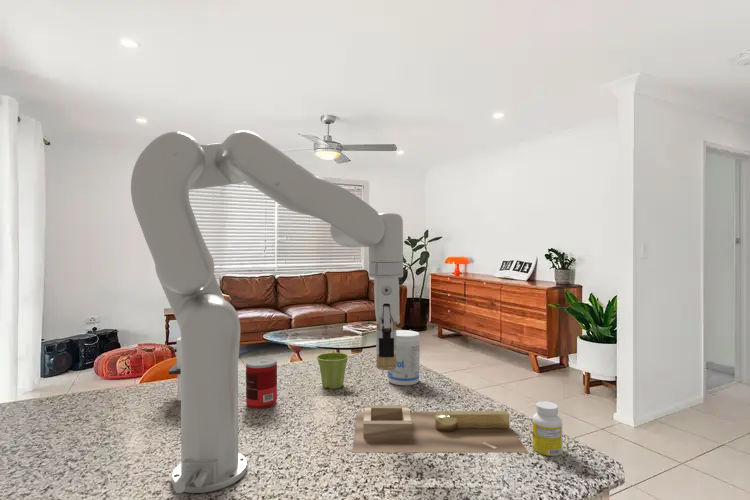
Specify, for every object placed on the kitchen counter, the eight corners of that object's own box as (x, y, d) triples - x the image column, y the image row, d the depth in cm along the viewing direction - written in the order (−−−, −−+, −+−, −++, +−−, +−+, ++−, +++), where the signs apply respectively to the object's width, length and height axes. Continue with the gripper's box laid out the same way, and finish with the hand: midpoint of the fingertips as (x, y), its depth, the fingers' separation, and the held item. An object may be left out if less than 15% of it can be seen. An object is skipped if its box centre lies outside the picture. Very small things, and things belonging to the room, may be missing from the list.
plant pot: (312, 383, 126) (312, 354, 126) (342, 379, 130) (342, 350, 130) (322, 393, 117) (322, 362, 117) (353, 388, 121) (353, 358, 121)
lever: (511, 431, 90) (511, 417, 90) (436, 431, 90) (436, 417, 90) (504, 421, 95) (504, 408, 95) (433, 421, 95) (433, 408, 95)
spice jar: (389, 364, 95) (389, 304, 95) (400, 369, 91) (400, 307, 91) (372, 367, 93) (371, 306, 93) (382, 372, 89) (382, 308, 89)
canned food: (281, 398, 113) (280, 357, 113) (270, 410, 105) (270, 366, 105) (253, 397, 114) (253, 356, 114) (241, 408, 106) (240, 365, 106)
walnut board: (528, 457, 81) (528, 451, 81) (352, 457, 81) (352, 451, 81) (498, 415, 101) (498, 411, 101) (356, 415, 101) (356, 411, 101)
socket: (411, 438, 87) (411, 423, 87) (363, 438, 87) (363, 423, 87) (408, 418, 97) (408, 405, 97) (364, 418, 97) (364, 405, 97)
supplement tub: (382, 383, 125) (382, 334, 125) (395, 374, 134) (395, 328, 134) (412, 388, 121) (412, 337, 121) (424, 379, 129) (424, 331, 129)
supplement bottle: (537, 445, 86) (537, 397, 86) (565, 454, 83) (566, 404, 83) (528, 455, 82) (528, 405, 82) (557, 465, 79) (557, 412, 79)
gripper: (405, 272, 84) (406, 364, 84) (400, 268, 101) (400, 344, 101) (368, 272, 84) (368, 364, 84) (369, 268, 101) (369, 344, 101)
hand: (386, 352), depth 92 cm, fingers closed on spice jar, 4 cm apart
